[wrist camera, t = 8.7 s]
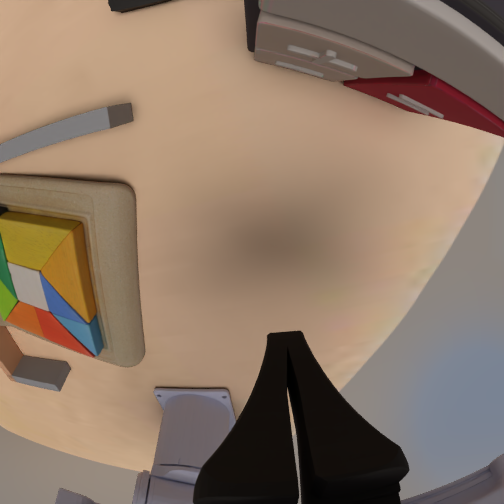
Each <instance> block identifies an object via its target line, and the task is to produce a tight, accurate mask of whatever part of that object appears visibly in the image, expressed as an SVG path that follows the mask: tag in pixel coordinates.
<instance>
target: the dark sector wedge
mask: <svg viewBox="0 0 504 504" xmlns="http://www.w3.org/2000/svg"><path fill="white" fill-rule="evenodd" d="M168 1H171V0H108V4H109V6H110V8H111V11H119V12H121V13H124V12H128V11H133V10H137V9H141V8H145V7H149V6H153V5H157V4H161V3H164V2H168Z"/></svg>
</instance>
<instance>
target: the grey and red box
mask: <svg viewBox="0 0 504 504" xmlns="http://www.w3.org/2000/svg"><path fill="white" fill-rule="evenodd" d="M244 5H245V18H246V32H247V46H248V50H249V51H251V52H254V60H255V61H259V62H263V63H267V64H271V65H276V66H280V67H284V68H287V69H291V70H295V71H299V72H302V73H306V74H309V75H313V76H316V77H319V78H322V79H325V80H329V81H343V80H344V84H343V85H344V86H347V87H349V88H352V89H355V90H358V91H360V92H363V93H365V94H368V95H371V96H373V97H376V98H378V99H381V100H383V101H385V102H388V103H390V104H393V105H395V106H397V107H399V108H402V109H404V110H406V111H409V112H414V113H418V114H423V115H427V116H432V117H436V118H440V119H444V120H448V121H452V122H456V123H459V124H463V125H466V126H470V127H473V128H476V129H480V130H483V131H486V132H489V133H492V134H495V135H498V136H501V137H504V0H244Z"/></svg>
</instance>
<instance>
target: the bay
mask: <svg viewBox="0 0 504 504" xmlns="http://www.w3.org/2000/svg"><path fill="white" fill-rule="evenodd" d="M132 121H133V116H132V108H131V103H128V104H121V105H115V106H108V107H104V108H100V109H97V110H93V111H90V112H86V113H83V114H80V115H77V116H73V117H70V118H67V119H64V120H61V121H58V122H55V123H52V124H50V125H47V126H44V127H41V128H39V129H36V130H33V131H31V132H28V133H26V134H23V135H21V136H18V137H16V138H13V139H11V140H9V141H6V142H4V143H2V144H0V163H1V162H4V161H6V160H9V159H11V158H14V157H17V156H19V155H22V154H25V153H28V152H31V151H33V150H36V149H39V148H42V147H45V146H48V145H52V144H55V143H58V142H61V141H65V140H68V139H71V138H75V137H78V136H82V135H86V134H89V133H93V132H97V131H101V130H105V129H109V128H113V127H116V126H119V125H122V124H125V123H129V122H132ZM0 367H1V368H2V369H3V371H4V372H5V374H6V375H7V376H8V378H9V379H10V380H11V381H15V382H19V383H23V384H27V385H31V386H35V387H40V388H44V389H49V390H54V391H59V392H60V391H61V389H62V386H63V384H64V382H65V380H66V378H67V376H68V374H69V372H70V370H71V368H70V367H69V365H68V363H67V362H65V361H57V360H50V359H43V358H36V357H30V356H24V355H23V354H22V353H21V351H20V350H19V348H18V346H17V345H16V343H15V342H14V340H13V338H12V337H11V335H10V334H9V332H8V330H7V328H6V327H5V326H0Z"/></svg>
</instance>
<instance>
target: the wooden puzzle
mask: <svg viewBox="0 0 504 504" xmlns="http://www.w3.org/2000/svg"><path fill="white" fill-rule="evenodd" d="M0 326H12V327H15V328H17V329H19V330H22V331H24V332H26V333H29V334H31V335H33V336H36V337H38V338H41V339H43V340H46V341H48V342H51V343H53V344H56V345H58V346H61V347H64V348H66V349H69V350H72V351H75V352H77V353H80V354H83V355H86V356H89V357H92V358H95V359H98V360H101V361H104V362H107V363H111V364H114V365H117V366H121V367H133V366H136V365H137V364H139V363H140V362H141V361H142V359H143V357H144V355H145V343H144V334H143V325H142V314H141V303H140V290H139V275H138V255H137V221H136V196H135V193H134V191H133V190H132V189H131V188H130V187H129V186H127V185H125V184H121V183H107V182H93V181H83V180H72V179H61V178H49V177H37V176H23V175H9V174H0Z"/></svg>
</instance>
